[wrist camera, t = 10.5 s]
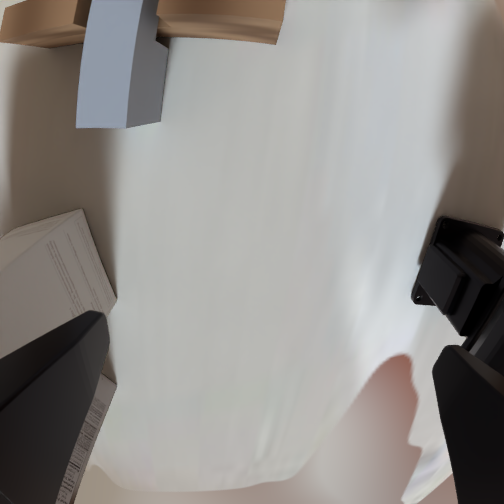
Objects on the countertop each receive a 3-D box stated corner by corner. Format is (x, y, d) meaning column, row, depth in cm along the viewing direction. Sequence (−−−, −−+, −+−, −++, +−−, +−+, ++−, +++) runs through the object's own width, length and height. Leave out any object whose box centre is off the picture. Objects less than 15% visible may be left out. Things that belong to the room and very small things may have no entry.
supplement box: (12, 226, 19) (-105, 320, 8) (85, 205, 19) (-55, 321, 7) (47, 310, 22) (-35, 423, 11) (120, 303, 22) (42, 450, 10)
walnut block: (280, 12, 14) (288, -20, 9) (275, 44, 14) (282, 21, 10) (53, 20, 13) (5, 7, 9) (48, 48, 14) (-2, 41, 9)
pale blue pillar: (191, -62, 11) (171, -103, 7) (160, 121, 16) (126, 128, 12) (150, -59, 11) (121, -95, 7) (119, 120, 16) (75, 128, 12)
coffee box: (78, 411, 28) (29, 532, 13) (32, 373, 26) (-33, 492, 11) (120, 386, 26) (65, 544, 11) (65, 339, 23) (-21, 494, 9)
